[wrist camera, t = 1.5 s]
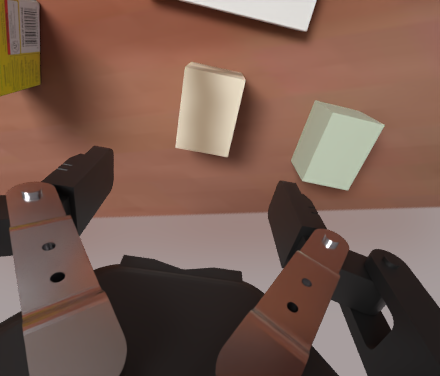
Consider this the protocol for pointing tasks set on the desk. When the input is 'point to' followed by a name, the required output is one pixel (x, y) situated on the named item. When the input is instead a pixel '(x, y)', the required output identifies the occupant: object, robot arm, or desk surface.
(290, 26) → the tower base
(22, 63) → the crayon box
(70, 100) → the desk surface
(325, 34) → the desk surface
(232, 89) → the birch brick
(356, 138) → the sage brick
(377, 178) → the desk surface
